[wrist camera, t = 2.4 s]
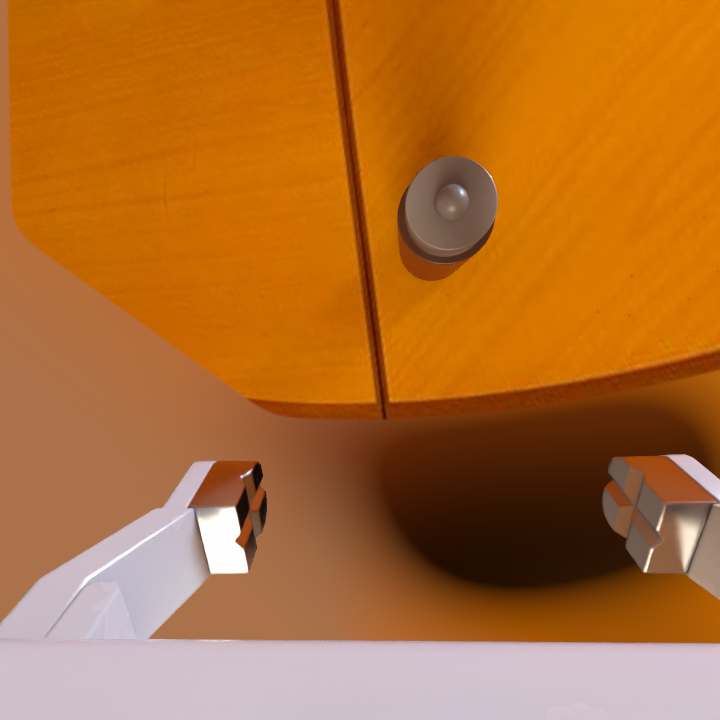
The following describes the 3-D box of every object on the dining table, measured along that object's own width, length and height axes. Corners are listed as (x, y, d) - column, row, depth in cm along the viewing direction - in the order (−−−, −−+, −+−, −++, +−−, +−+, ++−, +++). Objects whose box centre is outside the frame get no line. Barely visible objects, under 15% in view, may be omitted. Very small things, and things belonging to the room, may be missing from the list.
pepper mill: (400, 281, 33) (397, 258, 19) (399, 216, 33) (395, 141, 19) (464, 279, 33) (511, 253, 19) (465, 213, 32) (513, 133, 18)
